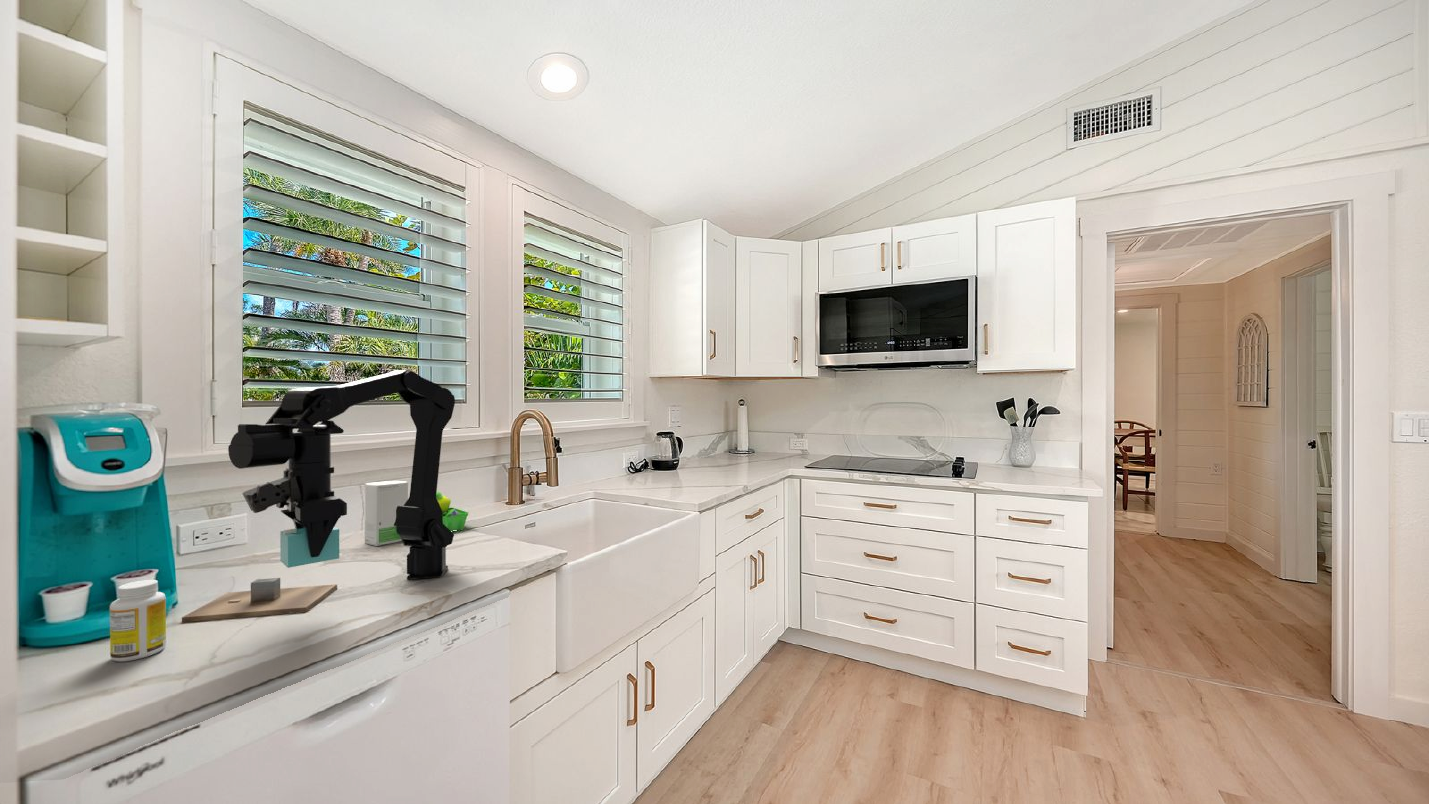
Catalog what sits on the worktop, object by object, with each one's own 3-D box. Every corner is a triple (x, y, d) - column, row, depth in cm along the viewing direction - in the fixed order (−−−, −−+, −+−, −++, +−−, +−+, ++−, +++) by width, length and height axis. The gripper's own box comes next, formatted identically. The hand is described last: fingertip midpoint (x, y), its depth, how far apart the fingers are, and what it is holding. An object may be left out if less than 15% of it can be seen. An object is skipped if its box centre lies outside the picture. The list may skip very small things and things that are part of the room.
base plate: (337, 588, 105) (337, 582, 105) (306, 611, 94) (306, 605, 94) (228, 596, 101) (228, 590, 101) (181, 622, 89) (181, 615, 89)
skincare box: (375, 547, 135) (375, 485, 135) (362, 543, 139) (362, 483, 139) (409, 539, 142) (409, 481, 142) (396, 536, 146) (396, 479, 146)
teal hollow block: (330, 552, 96) (330, 520, 96) (339, 558, 92) (339, 525, 92) (280, 561, 90) (280, 527, 90) (288, 567, 87) (287, 533, 87)
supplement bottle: (164, 642, 82) (163, 575, 82) (168, 653, 78) (167, 583, 78) (109, 655, 78) (108, 584, 78) (110, 667, 74) (110, 593, 74)
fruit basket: (470, 530, 153) (469, 490, 153) (437, 536, 146) (437, 494, 146) (453, 524, 160) (452, 486, 160) (421, 529, 154) (421, 490, 154)
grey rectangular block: (280, 596, 99) (280, 577, 99) (274, 600, 97) (274, 581, 97) (257, 598, 98) (257, 579, 98) (250, 602, 96) (250, 582, 96)
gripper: (238, 461, 91) (238, 553, 91) (258, 471, 79) (259, 577, 79) (317, 456, 100) (318, 540, 100) (347, 464, 87) (348, 560, 87)
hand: (310, 553), depth 91 cm, fingers closed on teal hollow block, 6 cm apart
